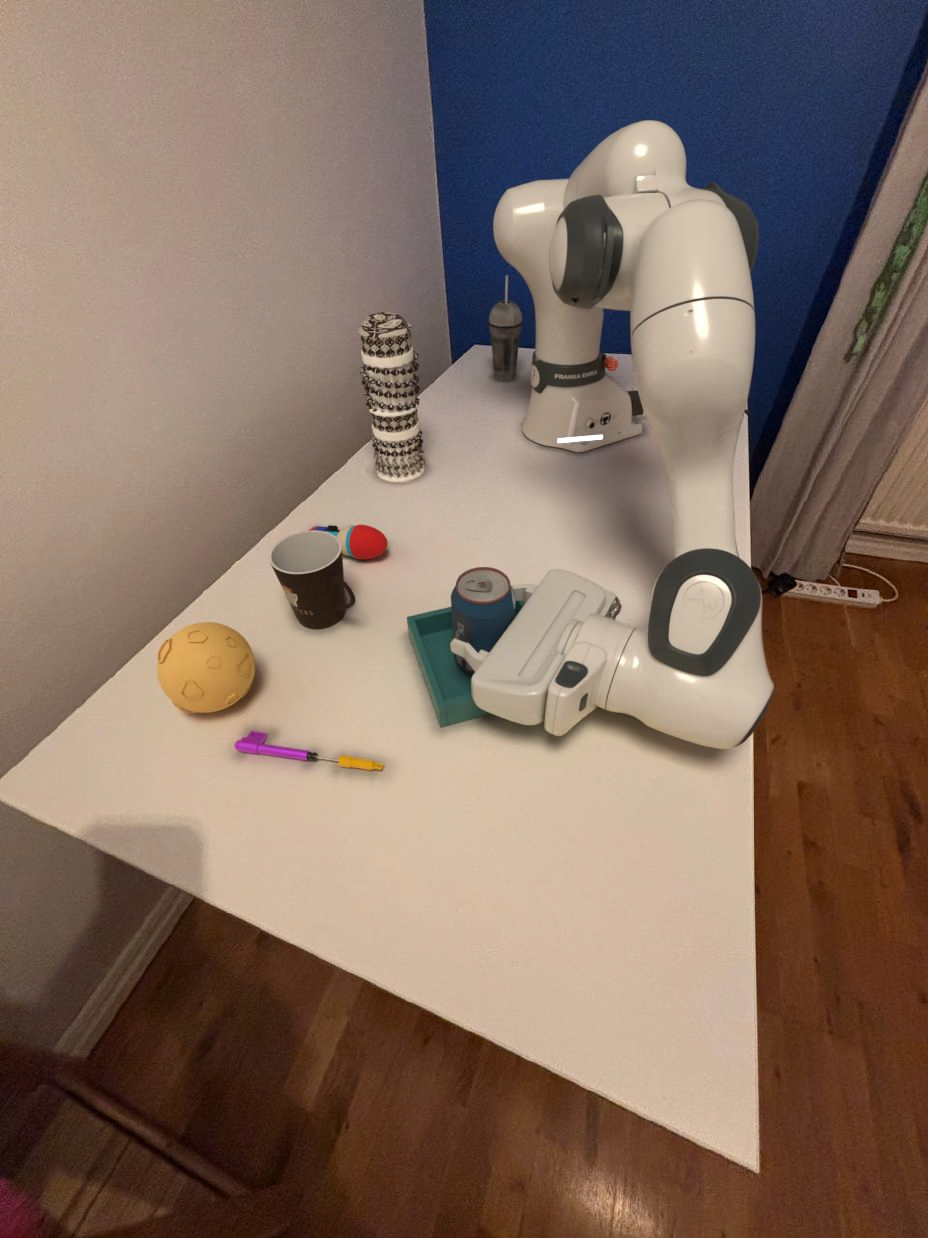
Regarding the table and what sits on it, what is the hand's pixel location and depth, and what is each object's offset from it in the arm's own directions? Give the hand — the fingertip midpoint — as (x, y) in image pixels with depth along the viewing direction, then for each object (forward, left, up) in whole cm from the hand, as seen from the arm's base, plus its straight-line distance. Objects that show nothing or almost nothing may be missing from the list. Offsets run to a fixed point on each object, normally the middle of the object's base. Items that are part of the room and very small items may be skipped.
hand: (475, 615), depth 66 cm
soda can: (-1, +1, -7) cm, 7 cm away
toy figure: (+11, -27, -8) cm, 31 cm away
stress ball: (+29, -4, -8) cm, 31 cm away
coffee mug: (+16, -13, -8) cm, 22 cm away
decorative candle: (-2, -47, -8) cm, 48 cm away
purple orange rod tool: (+20, +7, -8) cm, 23 cm away
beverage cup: (-33, -79, -8) cm, 86 cm away
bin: (-1, +1, -8) cm, 8 cm away
